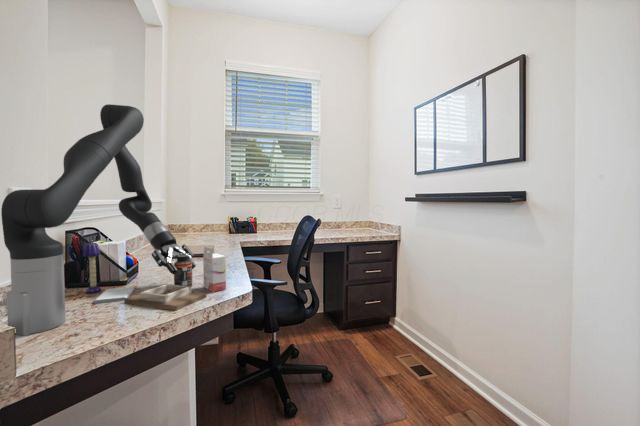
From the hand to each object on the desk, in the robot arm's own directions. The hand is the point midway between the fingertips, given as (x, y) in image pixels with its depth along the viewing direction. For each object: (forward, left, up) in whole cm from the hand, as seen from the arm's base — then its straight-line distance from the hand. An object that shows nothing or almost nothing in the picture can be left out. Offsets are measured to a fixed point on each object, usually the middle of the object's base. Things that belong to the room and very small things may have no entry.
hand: (185, 270), depth 104 cm
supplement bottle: (0, +1, -6) cm, 6 cm away
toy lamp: (-15, +25, -6) cm, 30 cm away
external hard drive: (-15, +14, -7) cm, 22 cm away
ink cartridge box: (+2, -11, -6) cm, 13 cm away
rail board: (-13, -5, -6) cm, 15 cm away
